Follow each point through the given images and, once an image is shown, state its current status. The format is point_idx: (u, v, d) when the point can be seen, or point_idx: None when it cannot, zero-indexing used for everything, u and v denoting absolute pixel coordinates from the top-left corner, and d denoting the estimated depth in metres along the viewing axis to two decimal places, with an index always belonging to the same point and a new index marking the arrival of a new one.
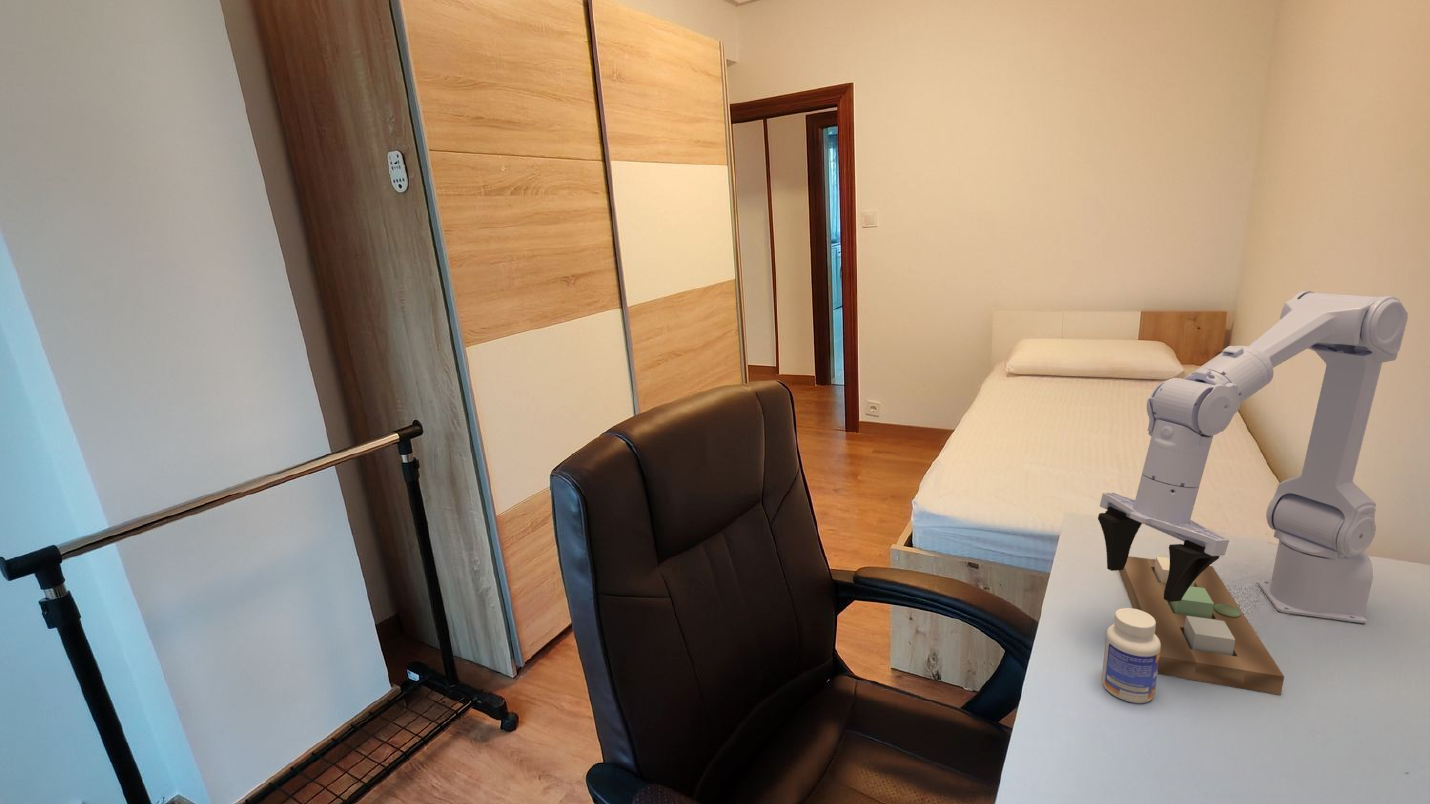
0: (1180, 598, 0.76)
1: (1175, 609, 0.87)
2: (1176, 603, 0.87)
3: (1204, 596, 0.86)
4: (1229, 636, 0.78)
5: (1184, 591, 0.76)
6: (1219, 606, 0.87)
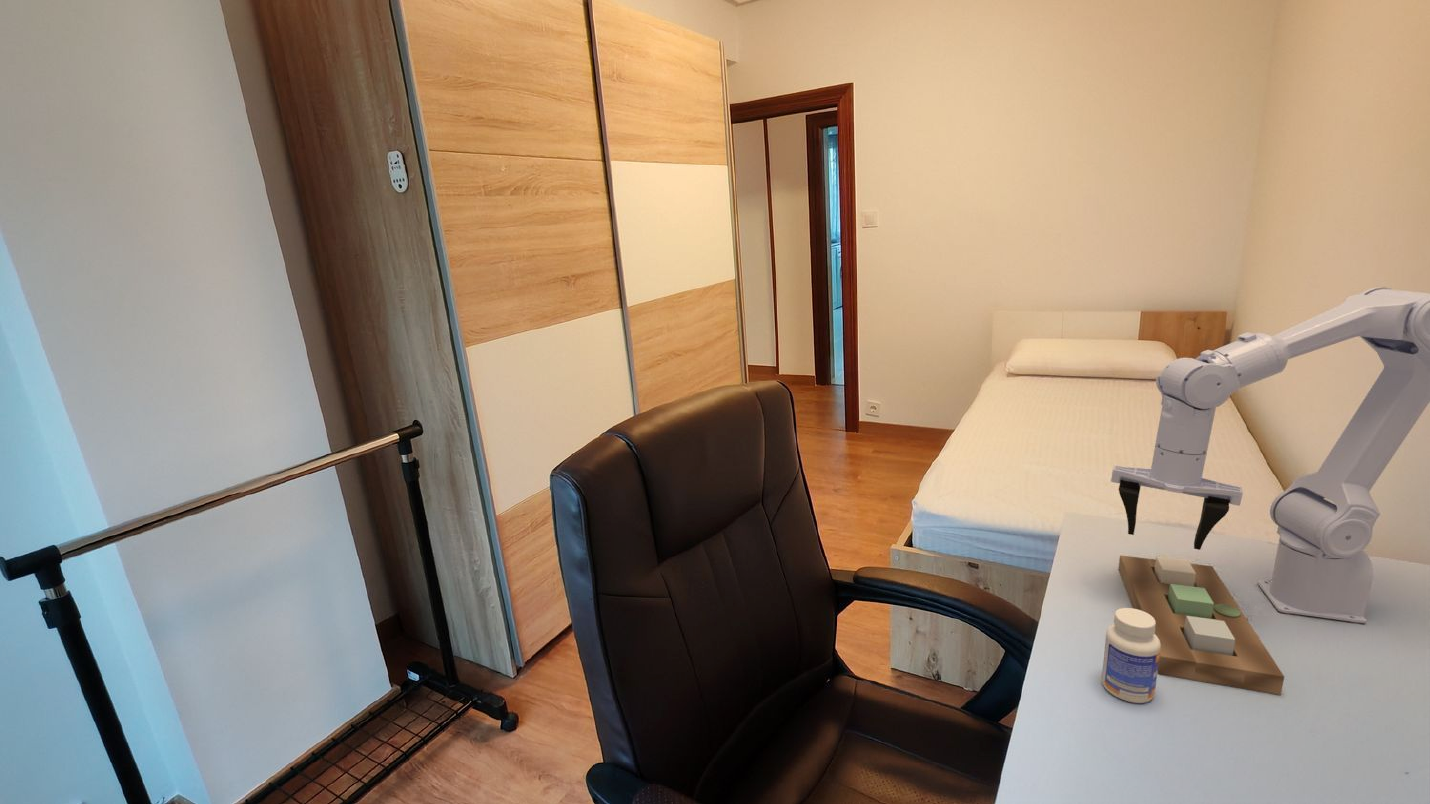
0: None
1: (1175, 609, 0.87)
2: (1176, 603, 0.87)
3: (1204, 596, 0.86)
4: (1229, 636, 0.78)
5: None
6: (1219, 606, 0.87)
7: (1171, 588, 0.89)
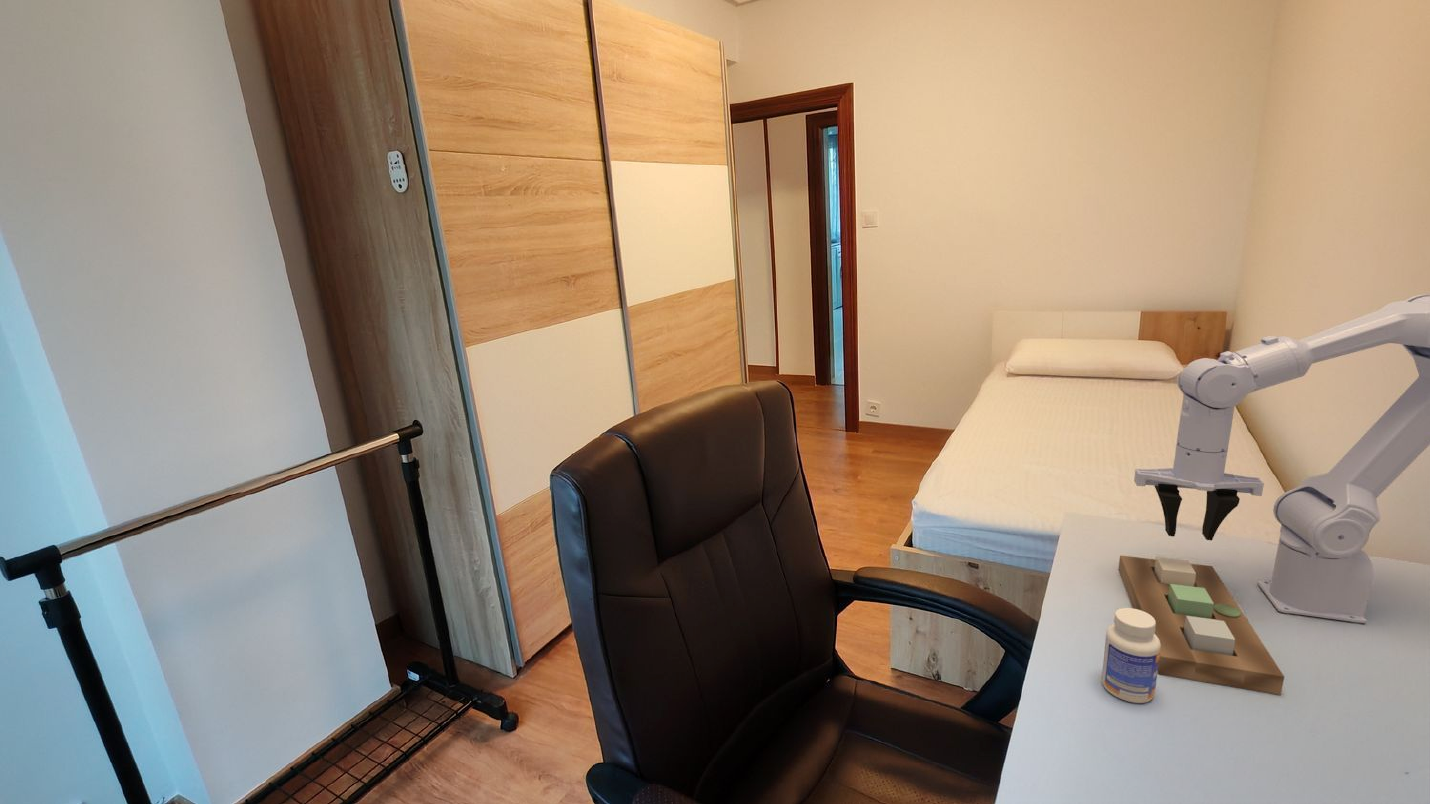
0: None
1: (1175, 609, 0.87)
2: (1176, 603, 0.87)
3: (1204, 596, 0.86)
4: (1229, 636, 0.78)
5: None
6: (1219, 606, 0.87)
7: (1171, 588, 0.89)
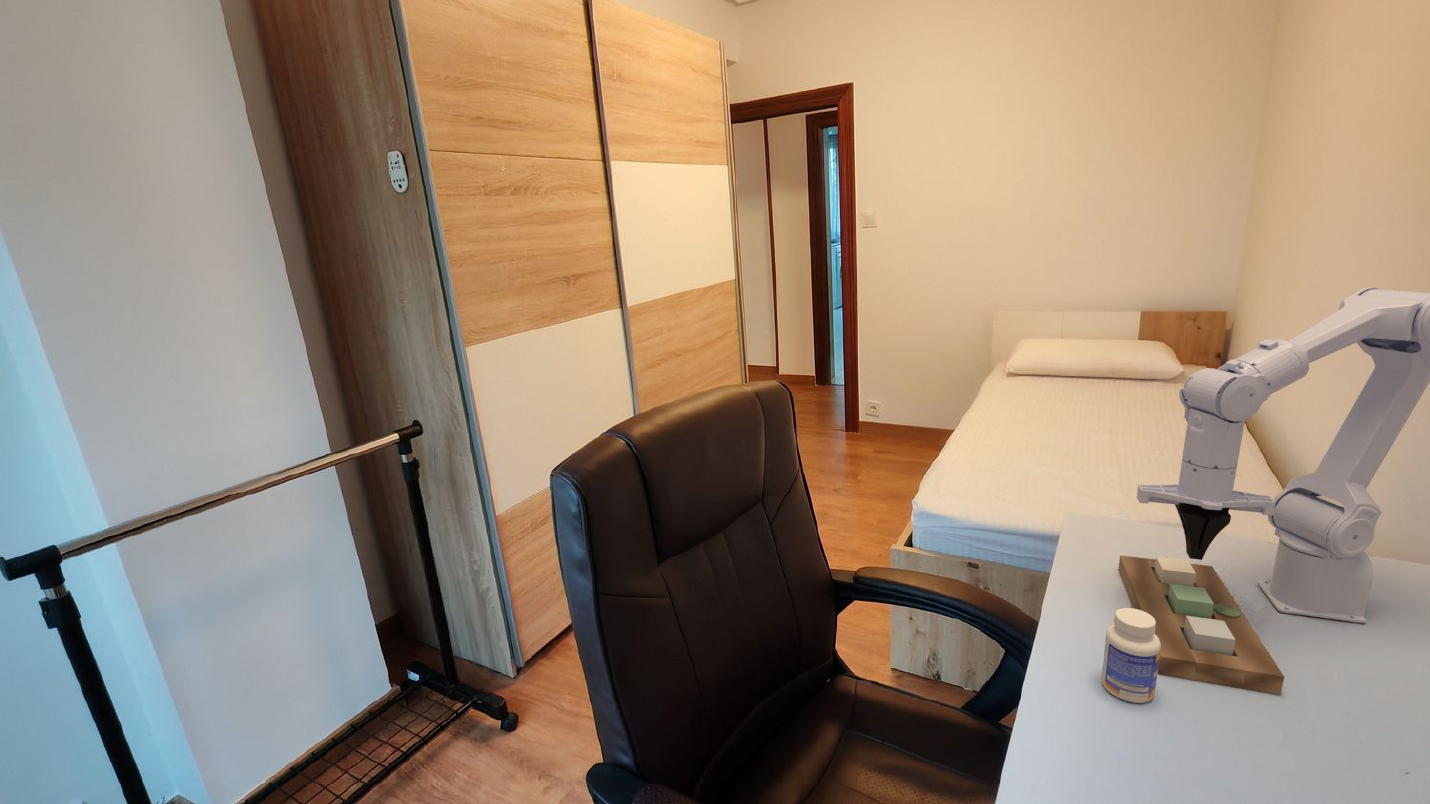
0: None
1: (1175, 609, 0.87)
2: (1176, 603, 0.87)
3: (1204, 596, 0.86)
4: (1229, 636, 0.78)
5: None
6: (1219, 606, 0.87)
7: (1171, 588, 0.89)
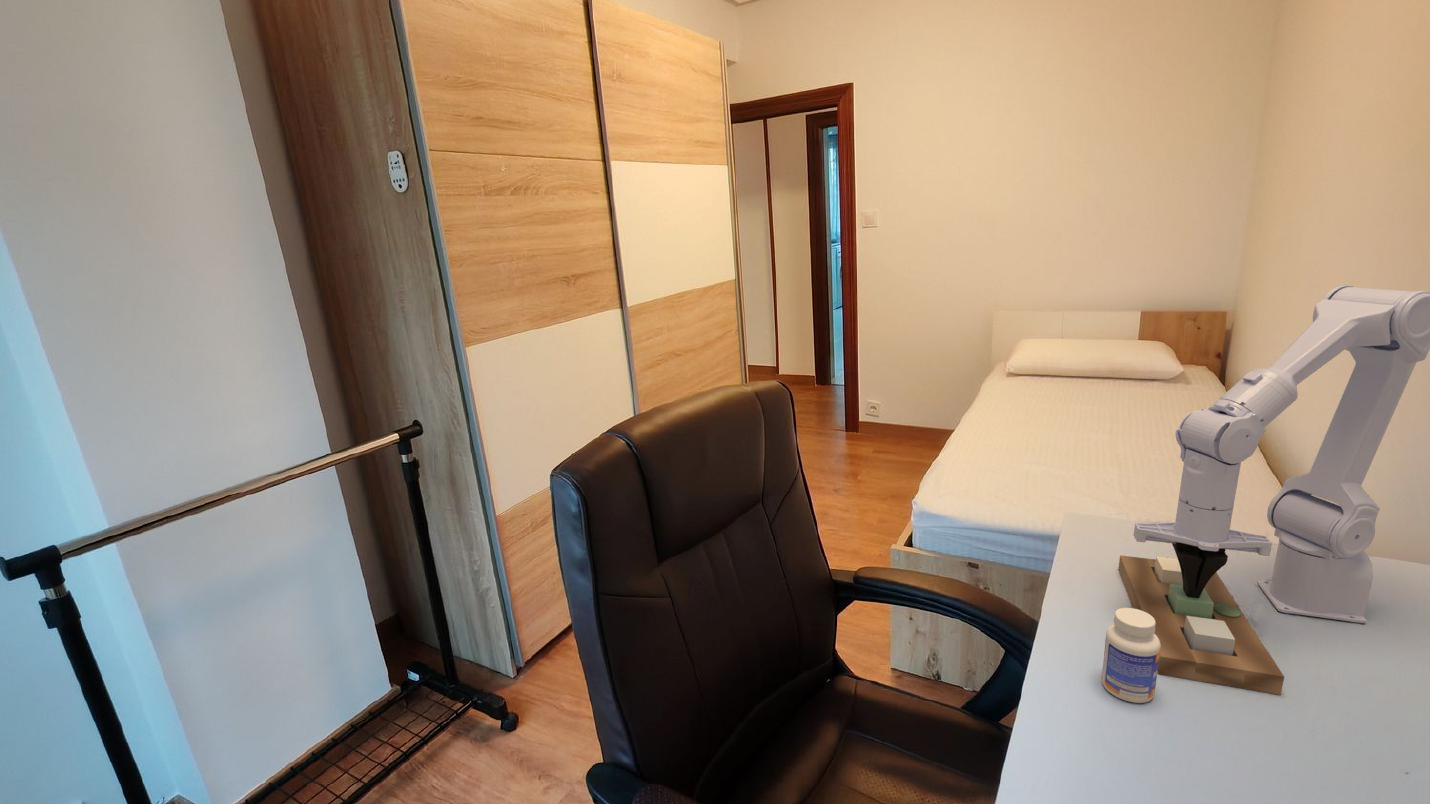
0: None
1: (1175, 609, 0.87)
2: (1176, 603, 0.87)
3: (1204, 596, 0.86)
4: (1229, 636, 0.78)
5: None
6: (1219, 606, 0.87)
7: (1171, 588, 0.89)
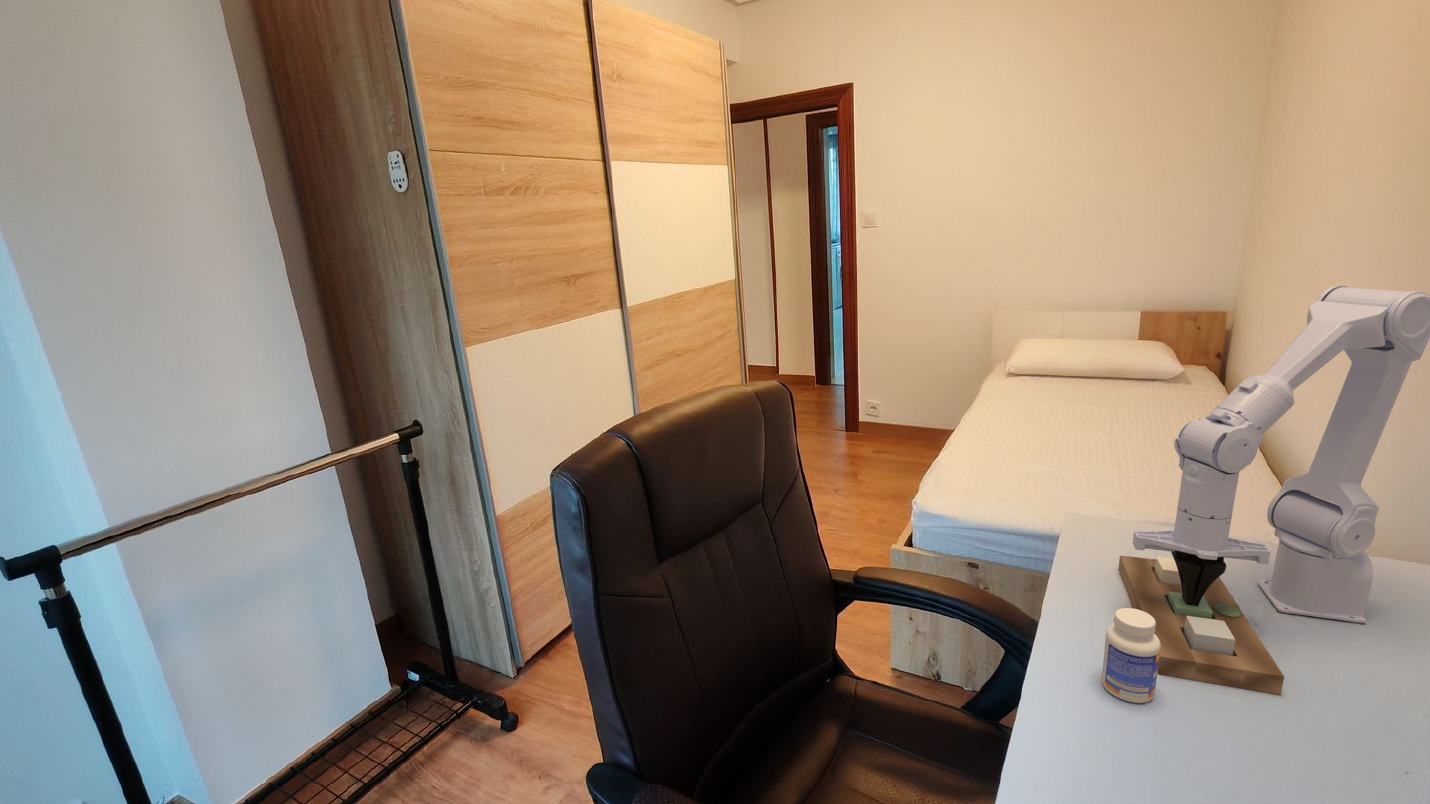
0: None
1: None
2: (1175, 611, 0.87)
3: (1203, 604, 0.87)
4: (1229, 636, 0.78)
5: None
6: (1219, 606, 0.87)
7: (1170, 596, 0.89)
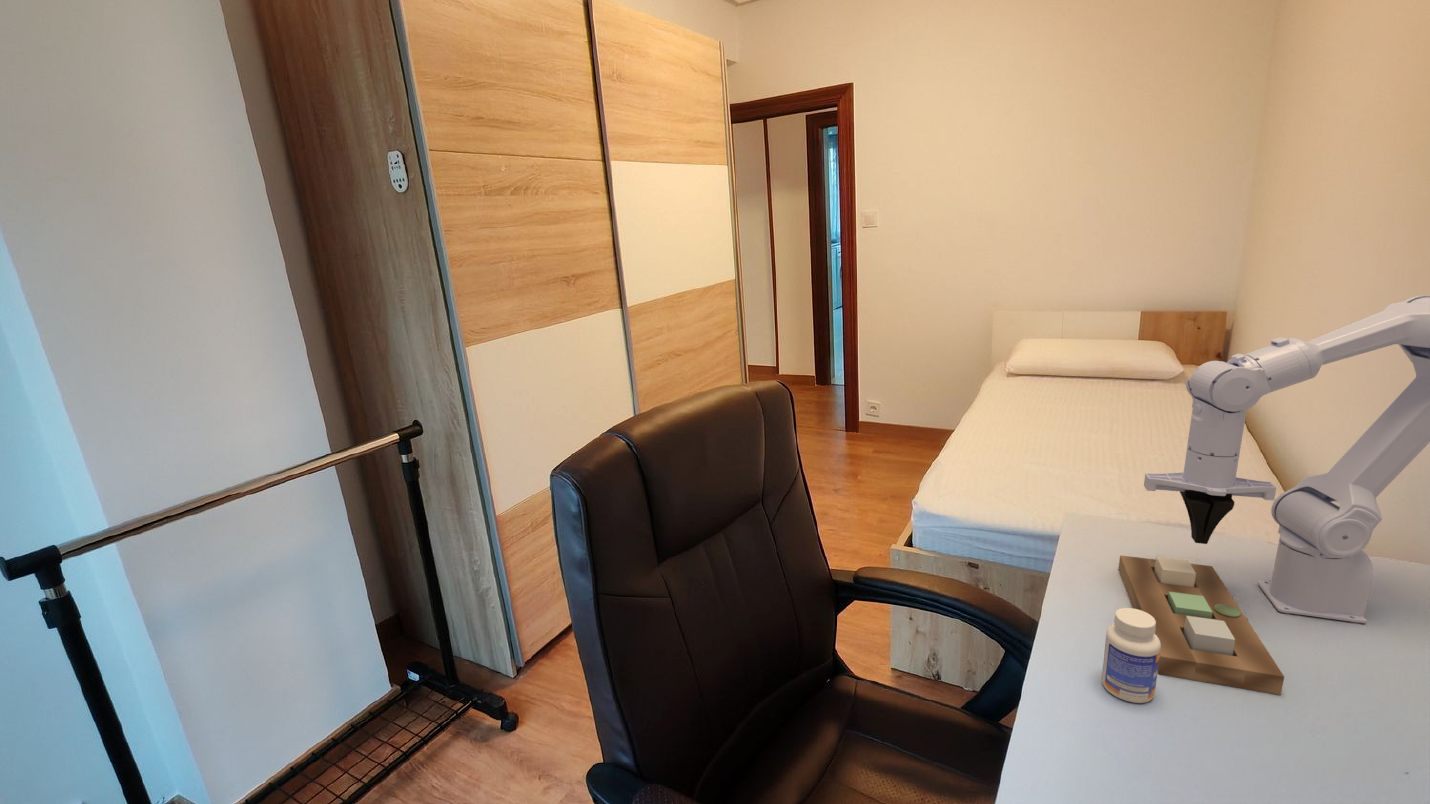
0: None
1: None
2: (1175, 611, 0.87)
3: (1203, 604, 0.87)
4: (1229, 636, 0.78)
5: None
6: (1219, 606, 0.87)
7: (1170, 596, 0.89)
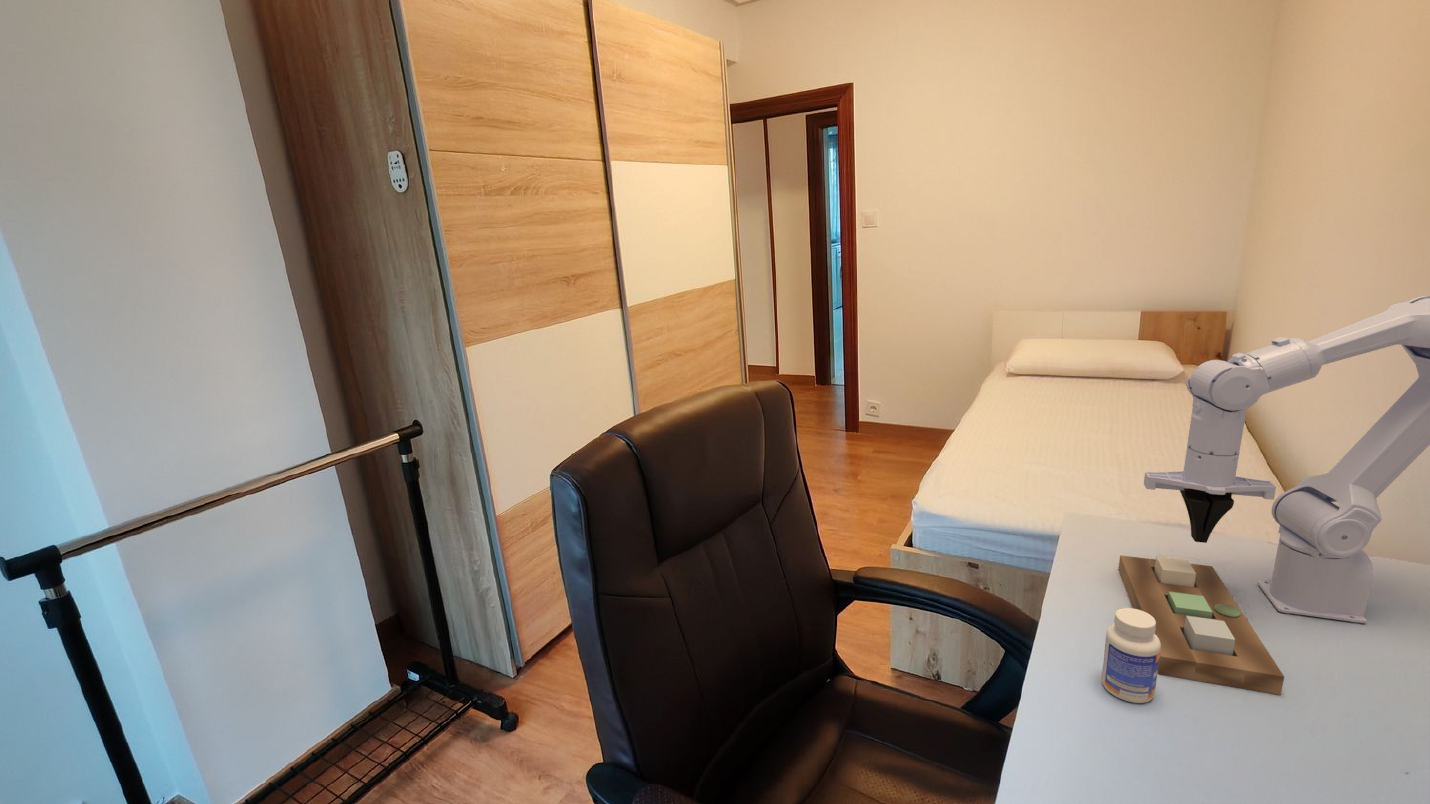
0: None
1: None
2: (1175, 611, 0.87)
3: (1203, 604, 0.87)
4: (1229, 636, 0.78)
5: None
6: (1219, 606, 0.87)
7: (1170, 596, 0.89)
